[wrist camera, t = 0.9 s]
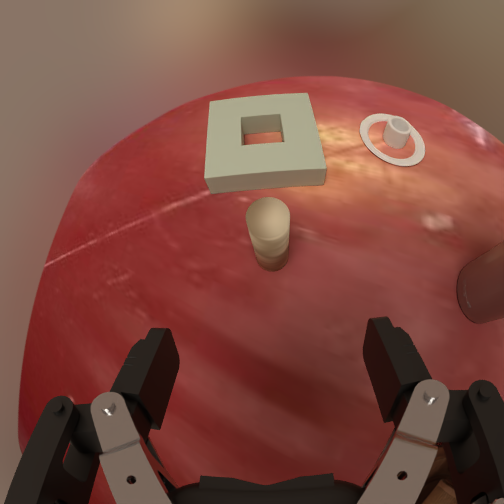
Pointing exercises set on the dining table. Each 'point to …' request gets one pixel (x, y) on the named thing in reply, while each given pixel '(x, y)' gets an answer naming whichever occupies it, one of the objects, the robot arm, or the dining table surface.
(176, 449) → the dining table surface
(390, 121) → the candle holder
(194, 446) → the dining table surface
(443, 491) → the scroll
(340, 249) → the dining table surface
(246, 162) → the square hole plate
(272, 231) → the birch peg
